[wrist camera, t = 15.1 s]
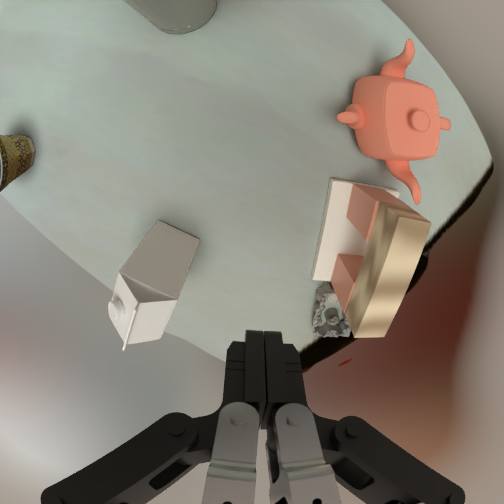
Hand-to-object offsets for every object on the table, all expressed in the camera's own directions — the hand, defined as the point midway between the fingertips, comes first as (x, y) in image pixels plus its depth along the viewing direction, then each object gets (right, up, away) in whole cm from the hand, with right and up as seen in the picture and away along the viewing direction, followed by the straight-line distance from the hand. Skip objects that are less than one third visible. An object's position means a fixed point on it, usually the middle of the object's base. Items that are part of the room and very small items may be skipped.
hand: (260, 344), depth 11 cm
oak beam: (+15, +3, +21) cm, 26 cm away
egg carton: (+14, -5, +36) cm, 39 cm away
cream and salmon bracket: (+15, +7, +29) cm, 34 cm away
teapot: (+16, +23, +21) cm, 35 cm away
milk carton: (-13, +5, +30) cm, 33 cm away
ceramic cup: (-42, +21, +22) cm, 52 cm away
